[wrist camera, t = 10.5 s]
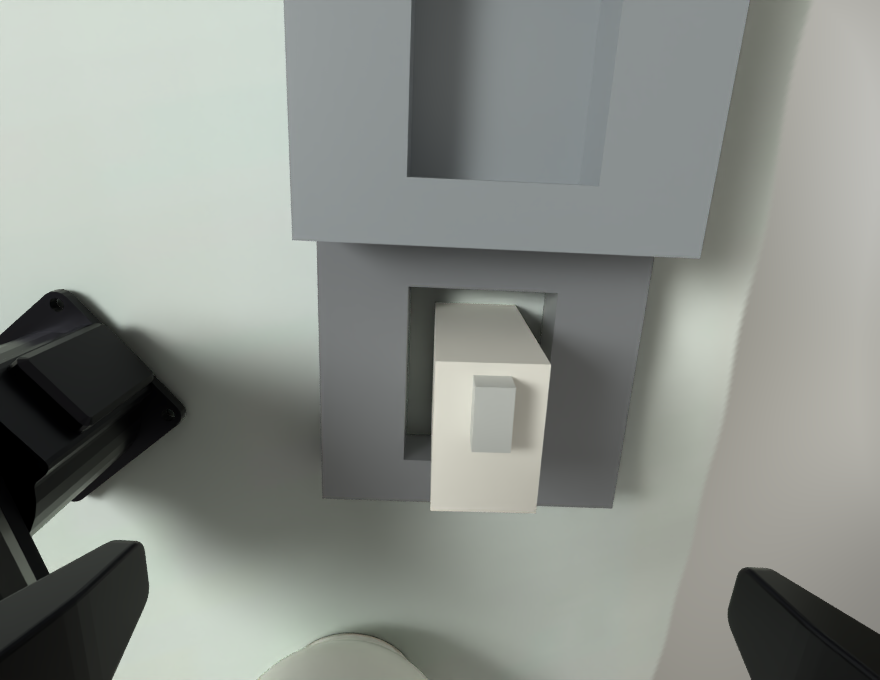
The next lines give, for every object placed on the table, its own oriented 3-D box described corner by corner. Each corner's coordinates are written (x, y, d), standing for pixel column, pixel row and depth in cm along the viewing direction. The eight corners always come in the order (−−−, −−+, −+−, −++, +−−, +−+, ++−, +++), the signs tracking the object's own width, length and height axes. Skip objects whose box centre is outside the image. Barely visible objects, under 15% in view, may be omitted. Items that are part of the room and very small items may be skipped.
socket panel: (596, 479, 22) (641, 563, 17) (332, 470, 22) (304, 552, 17) (685, -95, 16) (789, -207, 11) (323, -117, 16) (274, -240, 11)
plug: (506, 414, 21) (541, 531, 14) (431, 412, 21) (429, 528, 14) (515, 304, 20) (557, 375, 13) (435, 302, 20) (435, 372, 13)
